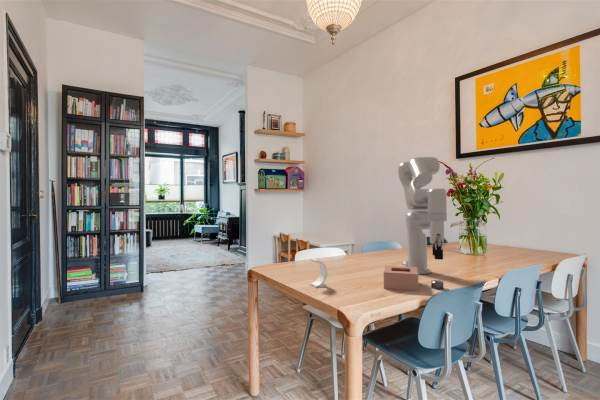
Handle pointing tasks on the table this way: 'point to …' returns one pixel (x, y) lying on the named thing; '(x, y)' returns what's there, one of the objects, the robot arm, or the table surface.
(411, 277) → the coin box
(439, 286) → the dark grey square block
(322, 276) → the headphone stand
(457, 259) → the table surface
